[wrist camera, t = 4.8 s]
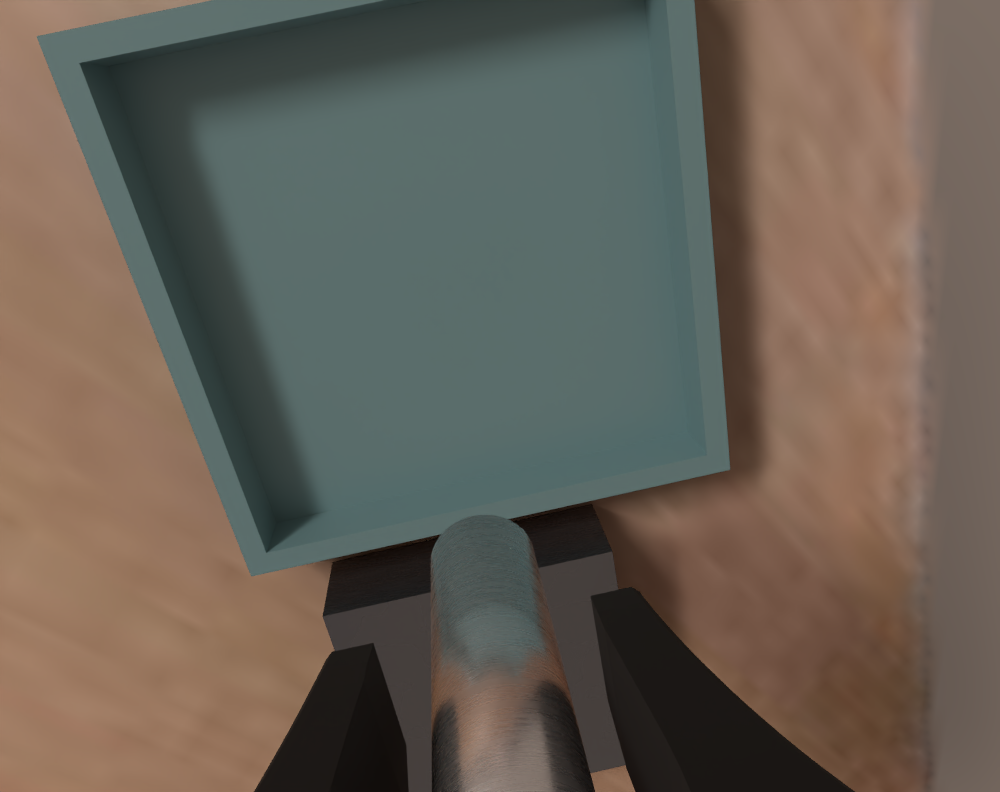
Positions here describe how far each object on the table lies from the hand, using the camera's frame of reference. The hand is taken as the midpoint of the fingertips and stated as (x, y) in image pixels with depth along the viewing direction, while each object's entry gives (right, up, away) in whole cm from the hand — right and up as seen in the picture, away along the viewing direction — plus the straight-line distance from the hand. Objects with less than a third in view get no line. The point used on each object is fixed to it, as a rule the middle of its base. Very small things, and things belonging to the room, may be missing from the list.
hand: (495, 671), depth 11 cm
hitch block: (0, -4, +13) cm, 13 cm away
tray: (-2, +7, +8) cm, 11 cm away
